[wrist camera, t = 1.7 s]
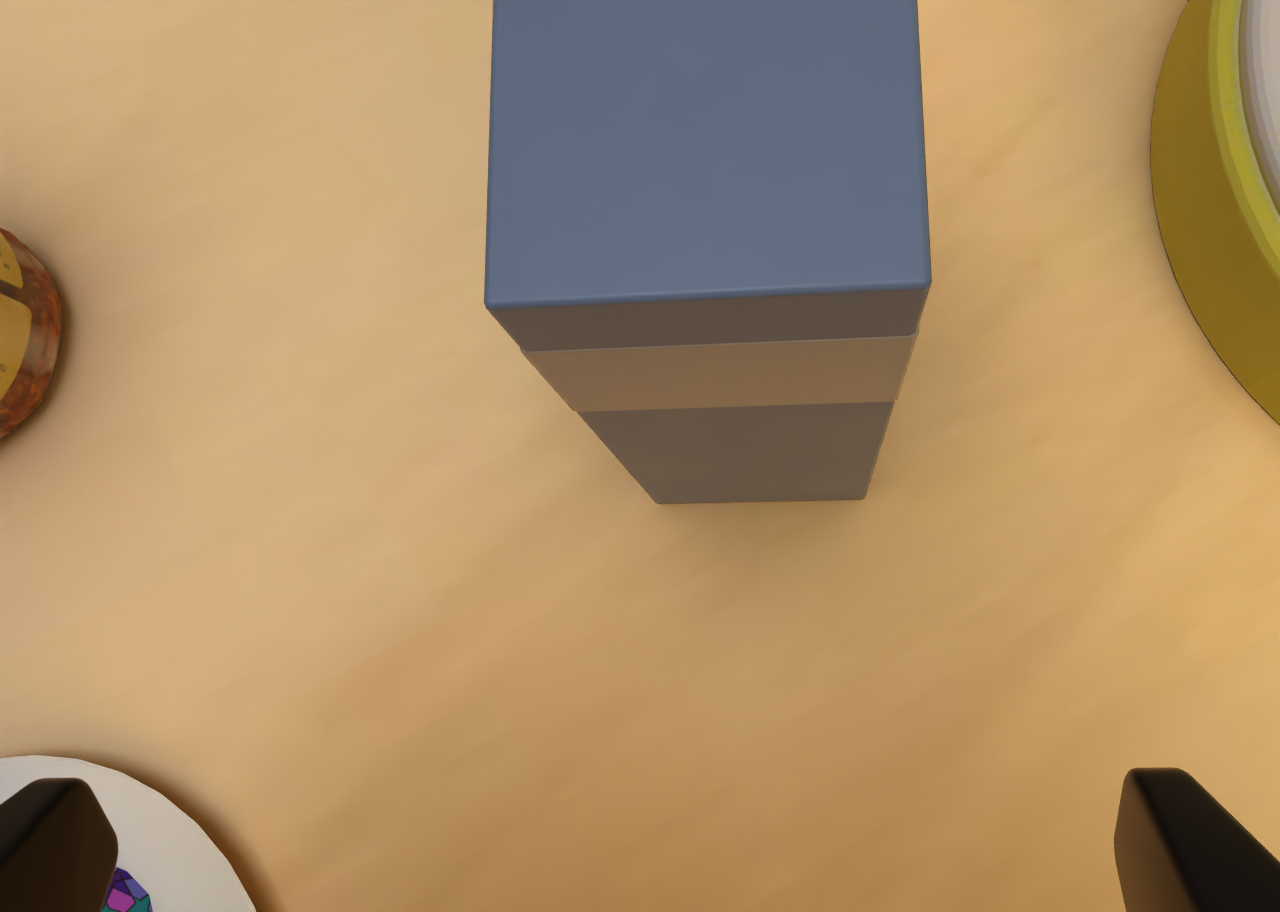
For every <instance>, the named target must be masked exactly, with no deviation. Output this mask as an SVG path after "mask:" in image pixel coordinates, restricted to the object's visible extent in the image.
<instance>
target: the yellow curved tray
mask: <svg viewBox="0 0 1280 912" xmlns="http://www.w3.org/2000/svg"><path fill="white" fill-rule="evenodd" d="M1150 165H1151V175H1152V186H1153V196H1154V203H1155V208H1156V212H1157V217H1158V222H1159V226H1160V231H1161V235H1162V240H1163V243H1164V246H1165V249H1166V251H1167V254H1168V257H1169V260H1170V263H1171V266H1172V269H1173V272H1174V274H1175V277H1176V280H1177V282H1178V284H1179V286H1180V288H1181V290H1182V292H1183V294H1184V297H1185V299H1186V301H1187V303H1188V305H1189V307H1190V309H1191V311H1192V313H1193V315H1194V317H1195V319H1196V320H1197V322H1198V324H1199V325H1200V327H1201V328H1202V330H1203V332H1204V333H1205V335H1206V336H1207V338H1208V340H1209V341H1210V343H1211V344H1212V346H1213V348H1214V349H1215V351H1216V352H1217V354H1218V355H1219V357H1220V358H1221V359H1222V360H1223V362H1224V363H1225V364H1226V365H1227V367H1228V368H1229V369H1230V371H1231V372H1232V373H1233V374H1234V376H1235V377H1236V378H1237V379H1238V381H1239V382H1240V383H1241V384H1242V386H1243V387H1244V388H1245V390H1246V391H1247V392H1248V393H1249V394H1250V395H1251V396H1252V397H1253V398H1254V399H1255V400H1256V401H1257V402H1258V403H1259V404H1260V405H1261V406H1262V407H1263V408H1264V409H1265V410H1266V411H1267V412H1268V413H1269V414H1270V415H1271V416H1272V417H1273V418H1274V419H1275V420H1276V422H1277V423H1279V424H1280V0H1189V2H1188V4H1187V5H1186V7H1185V9H1184V11H1183V13H1182V15H1181V17H1180V19H1179V22H1178V24H1177V27H1176V29H1175V31H1174V34H1173V36H1172V39H1171V41H1170V43H1169V46H1168V48H1167V51H1166V55H1165V59H1164V62H1163V66H1162V69H1161V73H1160V76H1159V80H1158V84H1157V88H1156V95H1155V102H1154V108H1153V115H1152V122H1151V151H1150Z"/></svg>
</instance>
